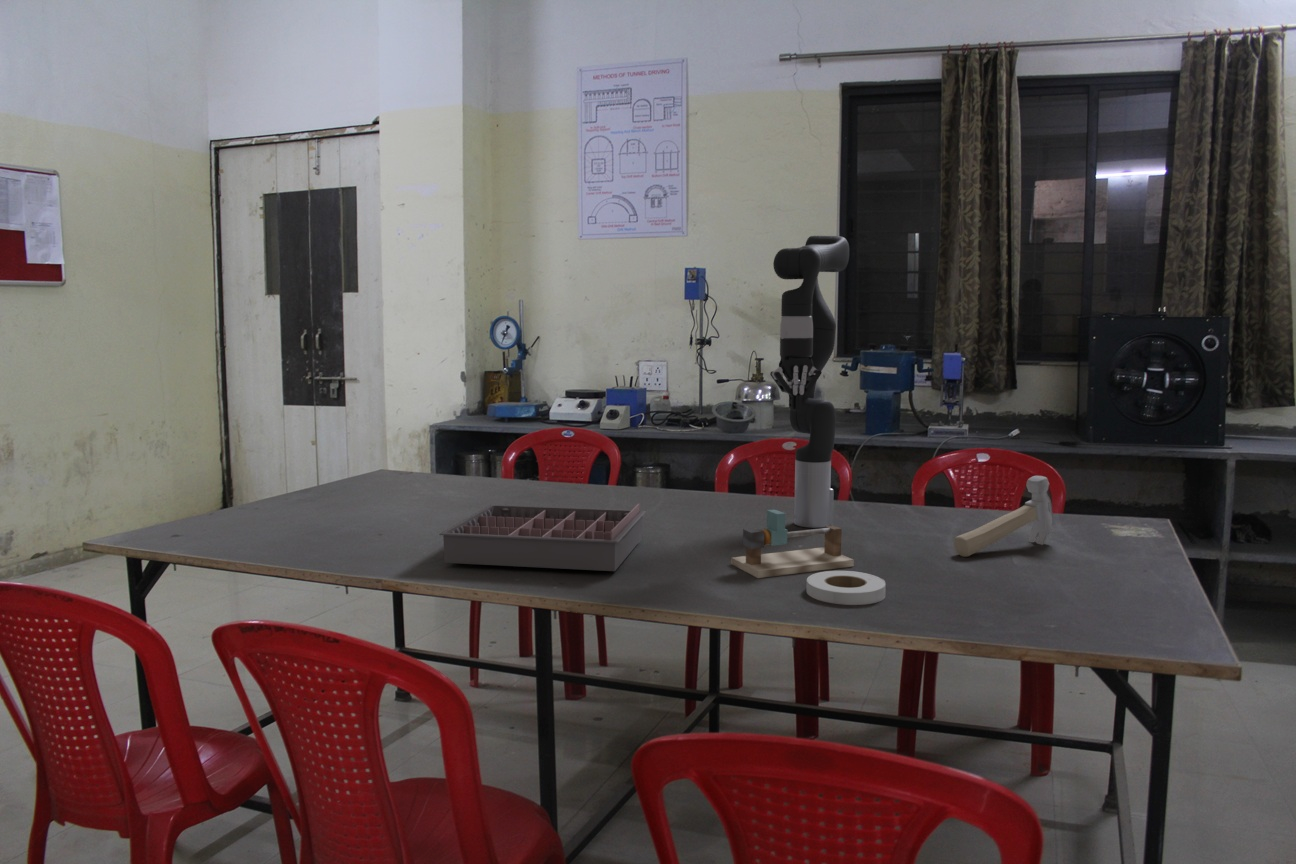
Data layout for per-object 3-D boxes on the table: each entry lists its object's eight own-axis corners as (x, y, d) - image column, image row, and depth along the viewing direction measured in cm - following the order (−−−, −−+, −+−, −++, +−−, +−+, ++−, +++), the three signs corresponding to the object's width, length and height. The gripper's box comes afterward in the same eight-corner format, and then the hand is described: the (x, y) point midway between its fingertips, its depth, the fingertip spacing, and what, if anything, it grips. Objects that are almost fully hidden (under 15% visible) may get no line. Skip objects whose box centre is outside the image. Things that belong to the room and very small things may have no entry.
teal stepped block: (778, 540, 207) (778, 509, 206) (788, 544, 203) (789, 513, 202) (762, 541, 206) (762, 510, 205) (772, 546, 202) (773, 514, 201)
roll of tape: (835, 610, 176) (835, 595, 176) (791, 588, 190) (792, 575, 190) (902, 600, 182) (902, 586, 182) (854, 580, 196) (855, 567, 196)
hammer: (965, 518, 210) (1051, 477, 224) (948, 514, 214) (1034, 474, 228) (973, 582, 214) (1057, 537, 227) (957, 577, 218) (1041, 533, 231)
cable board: (823, 553, 217) (824, 516, 216) (853, 566, 206) (854, 527, 205) (731, 564, 208) (731, 525, 207) (757, 578, 197) (758, 537, 196)
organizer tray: (490, 535, 236) (489, 497, 235) (646, 542, 228) (646, 502, 227) (439, 569, 205) (438, 525, 203) (617, 578, 197) (617, 532, 196)
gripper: (812, 335, 221) (811, 408, 224) (763, 336, 216) (762, 410, 219) (830, 336, 215) (828, 411, 217) (780, 337, 209) (779, 414, 212)
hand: (795, 410), depth 218 cm, fingers closed
